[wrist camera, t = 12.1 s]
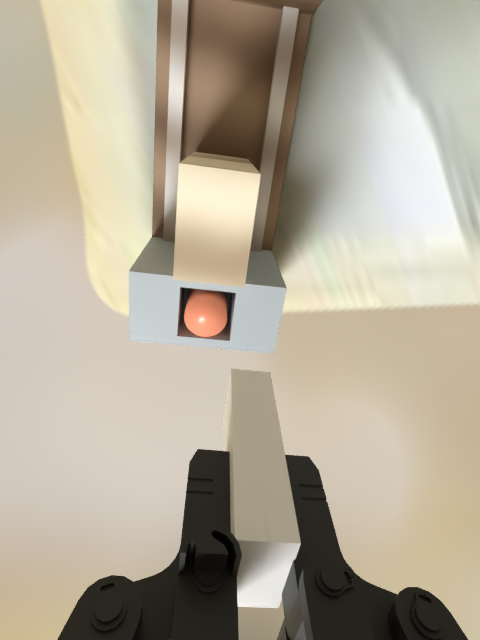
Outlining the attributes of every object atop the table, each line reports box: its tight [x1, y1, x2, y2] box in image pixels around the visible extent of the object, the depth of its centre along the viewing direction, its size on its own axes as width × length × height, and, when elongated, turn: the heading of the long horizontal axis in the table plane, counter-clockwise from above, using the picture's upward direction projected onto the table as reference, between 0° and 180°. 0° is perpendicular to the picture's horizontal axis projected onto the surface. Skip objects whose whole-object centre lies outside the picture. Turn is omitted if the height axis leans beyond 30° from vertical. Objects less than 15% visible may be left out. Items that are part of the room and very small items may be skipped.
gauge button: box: [184, 288, 227, 337], centre depth 26 cm, size 3×3×4 cm
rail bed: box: [152, 0, 323, 252], centre depth 27 cm, size 26×10×4 cm, turn 173°
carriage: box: [173, 152, 261, 287], centre depth 24 cm, size 6×4×11 cm, turn 173°
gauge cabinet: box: [129, 237, 287, 354], centre depth 29 cm, size 5×10×10 cm, turn 83°
